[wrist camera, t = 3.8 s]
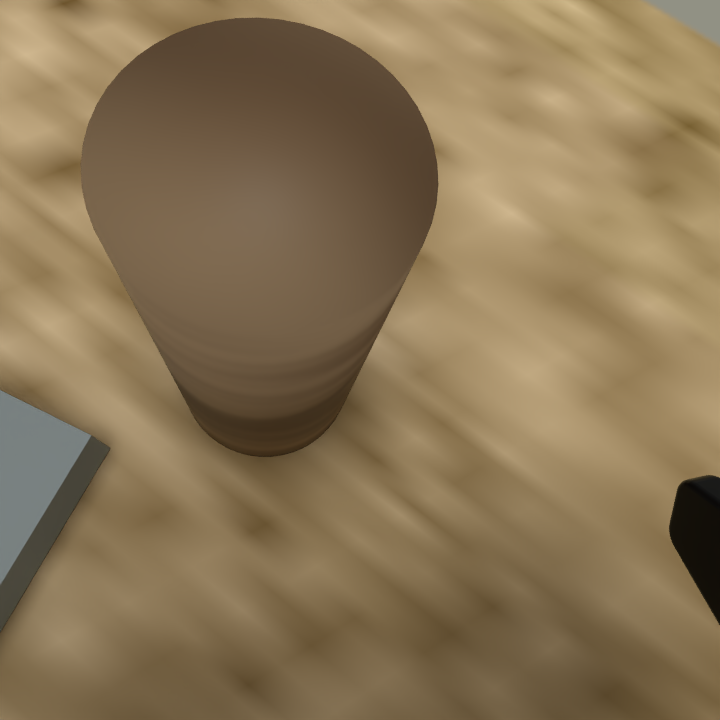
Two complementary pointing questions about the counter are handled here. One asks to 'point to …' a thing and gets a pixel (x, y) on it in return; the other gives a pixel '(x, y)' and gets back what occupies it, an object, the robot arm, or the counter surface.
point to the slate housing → (37, 489)
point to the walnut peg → (260, 217)
